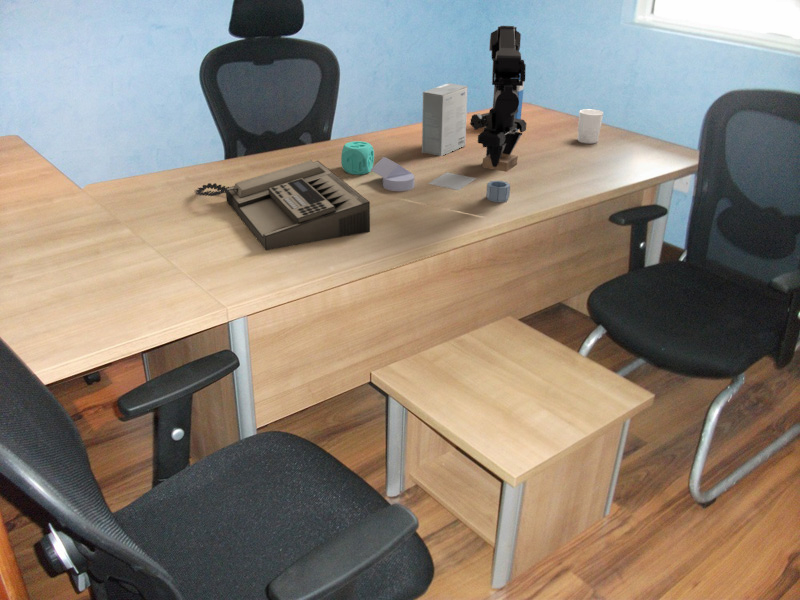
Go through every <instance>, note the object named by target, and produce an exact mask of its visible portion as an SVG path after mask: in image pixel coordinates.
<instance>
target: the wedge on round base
mask: <svg viewBox="0 0 800 600" xmlns="http://www.w3.org/2000/svg"><path fill="white" fill-rule="evenodd" d="M370 172H373V173H374V174H377V175H378V176H380V177H382V187H383V188H384V189H385V190H387V191H393V192H406V191H410V190H412V189H414V188H415V175H414V173H412V172H411V171H409V170H408V169H406V168H405V167H403V166H402V165H400V164H398V163H397V162H395V161H393V160H392V159H389V158H387V157H386V156H383V157H382V158H381V159H380V160H379V161H377V163H376V164H374V165H373V167H372V169H371V171H370Z"/></svg>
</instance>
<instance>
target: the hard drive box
mask: <svg viewBox="0 0 800 600" xmlns="http://www.w3.org/2000/svg"><path fill="white" fill-rule="evenodd" d="M467 108H468V85H465V84H464V85H462V84H458V83H449V82H448V83H444V84H441V85H440V86H435V87H433V88H431V89H428V90H427V89H426V90H425V91H422V119H421V120H422V121H421V122H422V125H421V126H422V127H421V128H422V129H421V130H422V131H421V133H422V135H421V136H422V137H421V140H422V141H421V153H422V154H429V155H434V156H439V157H442V156H443V155H444V156H446V155H448V154H450V153H453V152H455V151H457V150H460V149H462V148H463V147H466V141H467V139H466V136H467V134H466V133H467V110H468V109H467ZM461 147H462V148H461ZM459 148H460V149H459ZM452 151H453V152H452ZM445 154H446V155H445Z"/></svg>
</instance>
